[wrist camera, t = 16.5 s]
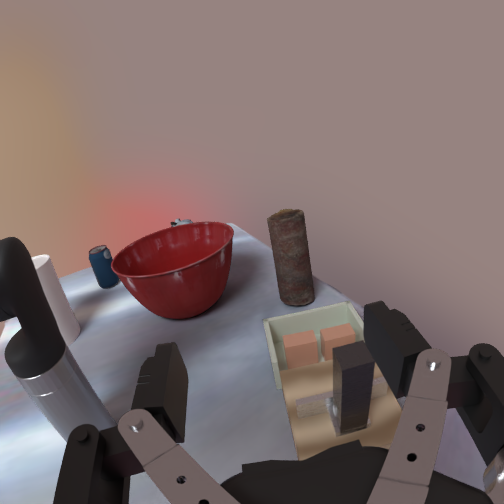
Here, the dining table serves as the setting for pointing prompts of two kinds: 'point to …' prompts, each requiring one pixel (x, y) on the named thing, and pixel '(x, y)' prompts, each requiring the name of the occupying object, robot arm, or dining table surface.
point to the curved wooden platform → (319, 426)
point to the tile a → (300, 349)
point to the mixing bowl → (177, 268)
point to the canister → (56, 298)
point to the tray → (306, 322)
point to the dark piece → (347, 390)
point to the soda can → (103, 266)
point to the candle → (291, 257)
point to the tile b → (335, 338)
